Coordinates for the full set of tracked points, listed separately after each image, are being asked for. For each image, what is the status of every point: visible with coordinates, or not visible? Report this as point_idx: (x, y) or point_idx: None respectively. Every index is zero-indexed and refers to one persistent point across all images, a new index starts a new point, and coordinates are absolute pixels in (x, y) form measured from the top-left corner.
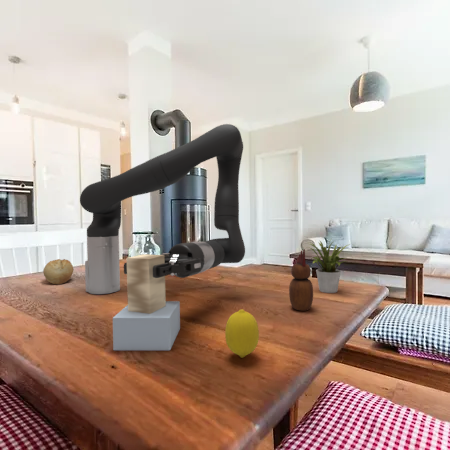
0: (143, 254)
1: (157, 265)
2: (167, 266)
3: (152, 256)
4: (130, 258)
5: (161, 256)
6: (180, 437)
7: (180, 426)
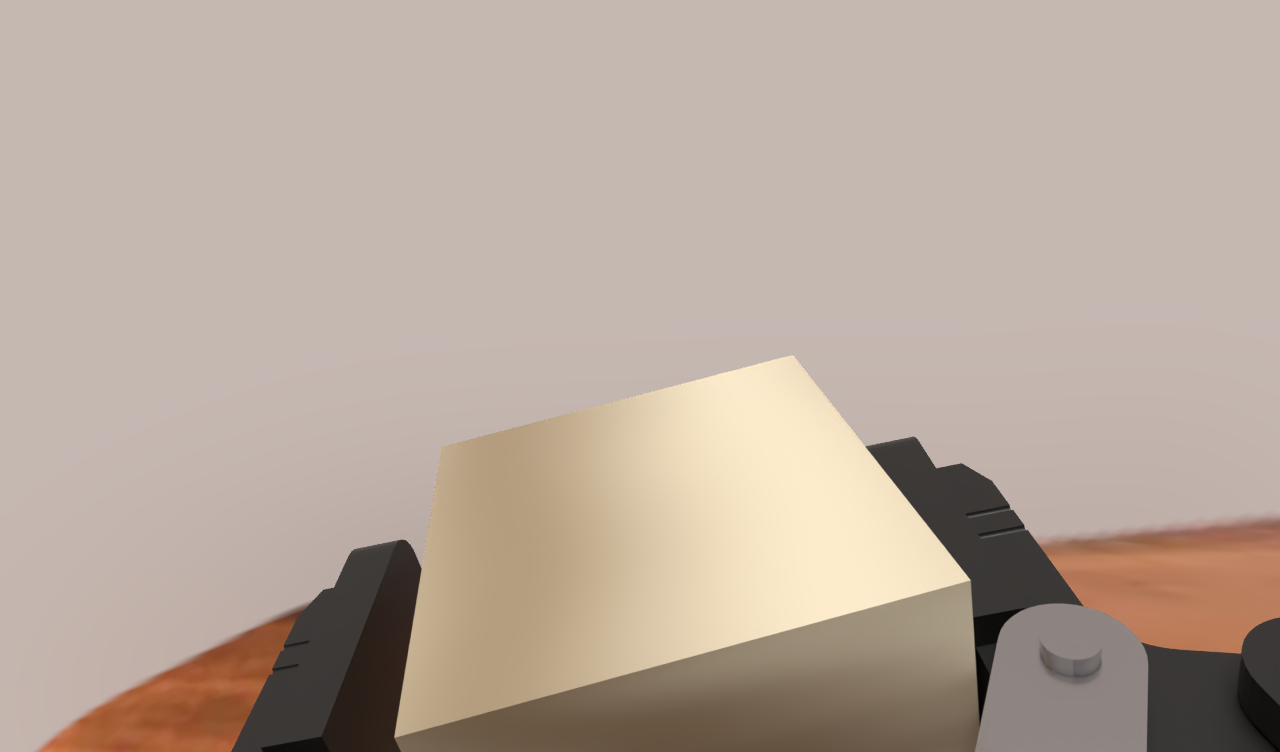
0: (938, 571)
1: (356, 563)
2: (265, 696)
3: (537, 548)
4: (729, 377)
5: (409, 659)
6: (195, 671)
7: (204, 693)
